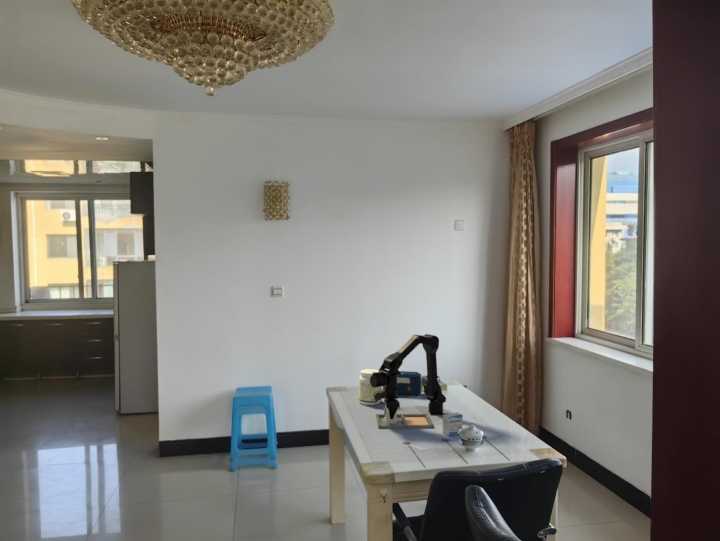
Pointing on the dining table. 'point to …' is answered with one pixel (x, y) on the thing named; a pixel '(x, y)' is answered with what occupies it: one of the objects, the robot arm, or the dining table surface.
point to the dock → (406, 421)
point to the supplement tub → (367, 388)
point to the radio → (409, 383)
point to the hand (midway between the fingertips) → (390, 417)
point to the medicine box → (452, 423)
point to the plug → (387, 417)
